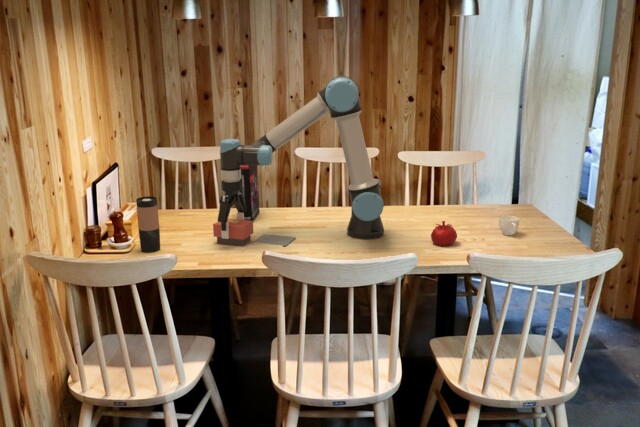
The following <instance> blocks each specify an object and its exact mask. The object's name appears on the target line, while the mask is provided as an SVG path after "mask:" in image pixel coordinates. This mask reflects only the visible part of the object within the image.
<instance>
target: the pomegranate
mask: <svg viewBox="0 0 640 427" xmlns="http://www.w3.org/2000/svg"><path fill="white" fill-rule="evenodd" d="M445 222H446V221H445V220H442V221H441V223H442V224H439V223H435V228H434V229H433V230H432V232H431V234H430V240H431V242H432V243H433V244H434V245H436V246H439V247H447V245H448V246H451V245H452V244H454V243H455V242H456V240H457V238H458V234H457V231H456V229H455V227H454V226H453V225H452V224H451V223H448V224H445Z"/></svg>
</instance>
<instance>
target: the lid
mask: <svg viewBox="0 0 640 427" xmlns="http://www.w3.org/2000/svg"><path fill="white" fill-rule="evenodd" d="M227 222H228V227H229V238H232V239H242V240H244V239H246V238H247V237H248V236H250V237H251V235H252V234H254V220H253V221H248V220H237V218H228V220H227ZM212 229H213V230H212V231H213V238H217V237H222V235H221V222H218V221H216V222H214V223H213V225H212Z"/></svg>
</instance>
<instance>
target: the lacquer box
mask: <svg viewBox="0 0 640 427" xmlns="http://www.w3.org/2000/svg"><path fill="white" fill-rule="evenodd" d="M249 242H251V235H250V236H248V237H247V238H246V239H244V240H242V239H232V238H229V239H224V238H222V237H216V243H217V244H222V245H230V246H238V247H244V246H245V245H247V244H249Z"/></svg>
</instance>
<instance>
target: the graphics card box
mask: <svg viewBox="0 0 640 427" xmlns="http://www.w3.org/2000/svg"><path fill="white" fill-rule="evenodd" d="M240 180H241V189H242V193H243V197H244V201H245V204H246V213H245V212H243V213H244V220H248V221H253V222H254V221H255V219H256V218H257V217H258V215H259V213H260V196H259V195H260V193H259V178H258V165H241V179H240Z"/></svg>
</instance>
